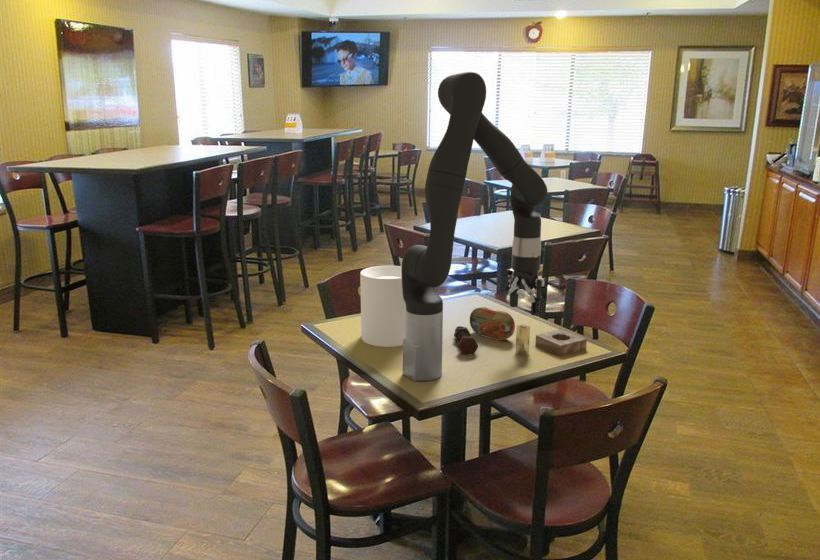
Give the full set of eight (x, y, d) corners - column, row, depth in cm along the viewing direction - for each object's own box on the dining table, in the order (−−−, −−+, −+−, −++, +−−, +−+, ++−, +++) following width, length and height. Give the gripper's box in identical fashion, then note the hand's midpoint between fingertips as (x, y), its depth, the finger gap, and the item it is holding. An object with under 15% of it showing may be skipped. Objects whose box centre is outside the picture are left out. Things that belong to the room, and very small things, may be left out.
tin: (468, 331, 200) (469, 305, 198) (474, 329, 203) (475, 303, 200) (509, 343, 190) (510, 316, 188) (515, 341, 193) (517, 313, 191)
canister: (369, 349, 185) (368, 281, 180) (355, 331, 200) (354, 267, 195) (422, 343, 190) (423, 276, 185) (405, 326, 205) (405, 264, 200)
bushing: (521, 357, 180) (522, 329, 178) (512, 353, 183) (514, 325, 181) (531, 354, 182) (532, 327, 180) (522, 350, 185) (524, 323, 183)
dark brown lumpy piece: (462, 342, 197) (470, 359, 182) (448, 334, 196) (455, 351, 181) (472, 326, 196) (481, 342, 181) (457, 318, 195) (466, 333, 180)
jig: (560, 355, 181) (560, 345, 180) (535, 344, 189) (535, 335, 188) (586, 349, 186) (586, 339, 185) (561, 338, 194) (561, 329, 193)
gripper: (498, 249, 179) (496, 306, 183) (534, 259, 167) (531, 320, 172) (519, 246, 183) (517, 302, 187) (555, 256, 171) (552, 315, 175)
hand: (524, 310), depth 179 cm, fingers open, 8 cm apart
